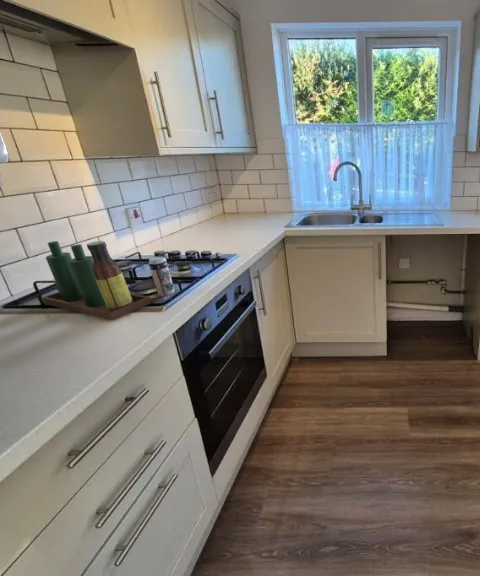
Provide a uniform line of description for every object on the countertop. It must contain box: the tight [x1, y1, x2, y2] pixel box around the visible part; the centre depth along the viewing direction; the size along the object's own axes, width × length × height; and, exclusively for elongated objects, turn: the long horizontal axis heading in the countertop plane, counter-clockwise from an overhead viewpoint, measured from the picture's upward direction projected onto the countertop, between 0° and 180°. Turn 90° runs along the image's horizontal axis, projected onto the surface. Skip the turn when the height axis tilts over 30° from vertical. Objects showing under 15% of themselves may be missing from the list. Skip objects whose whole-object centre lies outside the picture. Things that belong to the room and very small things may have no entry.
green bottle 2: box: [69, 243, 105, 307], centre depth 105 cm, size 6×6×18 cm
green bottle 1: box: [45, 240, 83, 302], centre depth 109 cm, size 6×6×18 cm
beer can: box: [148, 255, 176, 297], centre depth 113 cm, size 5×5×12 cm
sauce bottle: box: [86, 240, 133, 312], centre depth 101 cm, size 7×6×20 cm
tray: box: [41, 291, 152, 321], centre depth 108 cm, size 32×12×3 cm, turn 68°
